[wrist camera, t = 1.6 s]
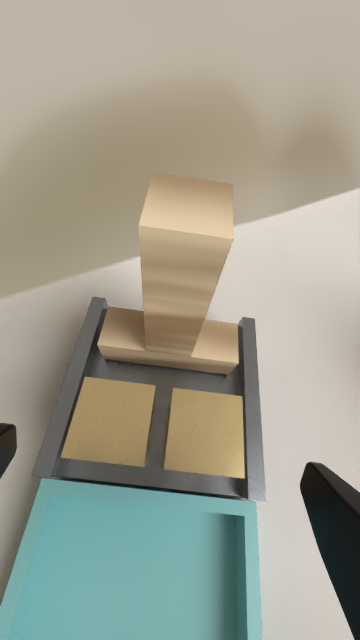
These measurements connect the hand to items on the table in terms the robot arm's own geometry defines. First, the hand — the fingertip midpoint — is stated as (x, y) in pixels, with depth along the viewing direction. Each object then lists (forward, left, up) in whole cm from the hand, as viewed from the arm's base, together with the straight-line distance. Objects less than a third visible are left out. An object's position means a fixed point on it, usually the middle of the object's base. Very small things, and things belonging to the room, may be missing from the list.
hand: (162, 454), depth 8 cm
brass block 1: (-1, +3, -9) cm, 10 cm away
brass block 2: (+3, 0, -9) cm, 10 cm away
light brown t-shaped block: (+5, +6, -9) cm, 12 cm away
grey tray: (+3, +4, -13) cm, 14 cm away
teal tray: (-5, -5, -13) cm, 15 cm away
